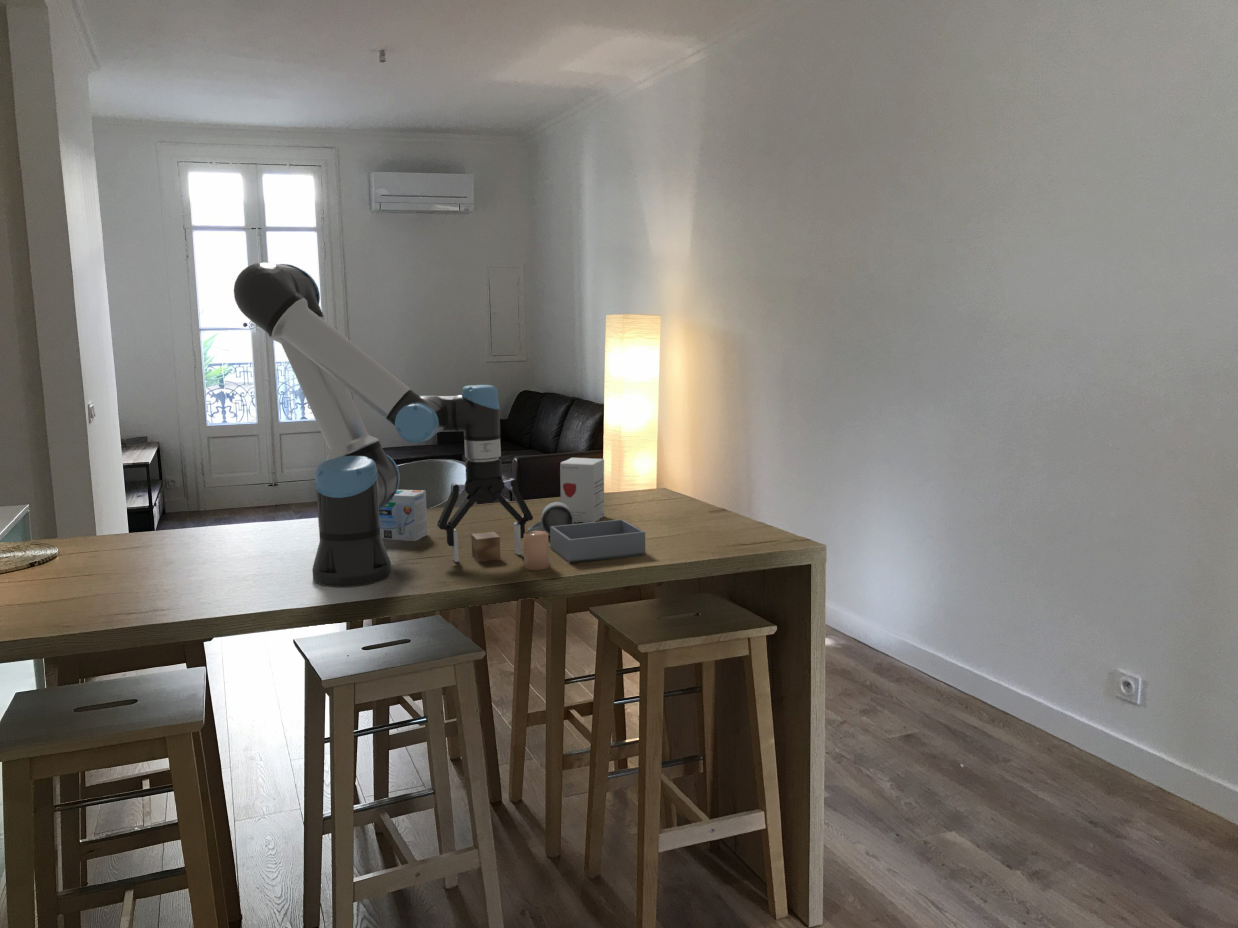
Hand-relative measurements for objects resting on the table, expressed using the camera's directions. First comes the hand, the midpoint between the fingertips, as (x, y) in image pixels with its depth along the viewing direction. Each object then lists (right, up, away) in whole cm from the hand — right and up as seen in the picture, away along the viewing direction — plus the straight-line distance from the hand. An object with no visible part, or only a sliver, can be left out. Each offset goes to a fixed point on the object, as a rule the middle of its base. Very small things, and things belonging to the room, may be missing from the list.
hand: (487, 556), depth 199 cm
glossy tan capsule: (+11, -1, -7) cm, 13 cm away
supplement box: (+19, +6, +35) cm, 40 cm away
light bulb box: (-23, +3, +19) cm, 30 cm away
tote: (+23, +1, +4) cm, 24 cm away
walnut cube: (0, 0, 0) cm, 0 cm away
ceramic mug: (+12, +3, +20) cm, 24 cm away
